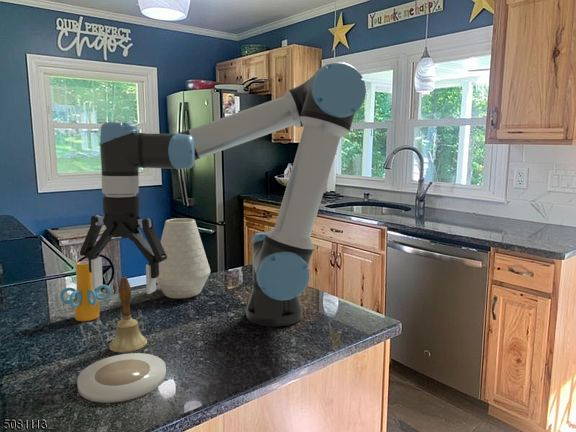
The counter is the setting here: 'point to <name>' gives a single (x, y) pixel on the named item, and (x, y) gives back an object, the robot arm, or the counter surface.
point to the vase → (182, 260)
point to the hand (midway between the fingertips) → (124, 289)
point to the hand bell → (127, 325)
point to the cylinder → (85, 294)
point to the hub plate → (121, 377)
